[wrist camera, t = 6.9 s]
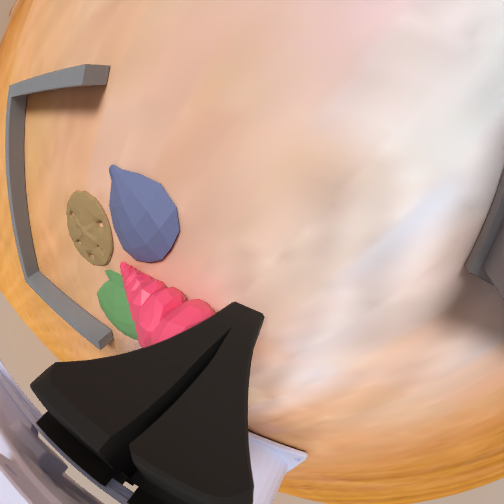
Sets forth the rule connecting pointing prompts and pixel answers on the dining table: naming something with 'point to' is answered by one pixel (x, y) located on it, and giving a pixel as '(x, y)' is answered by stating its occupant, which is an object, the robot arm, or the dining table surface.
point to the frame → (18, 201)
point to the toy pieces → (140, 248)
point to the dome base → (491, 245)
